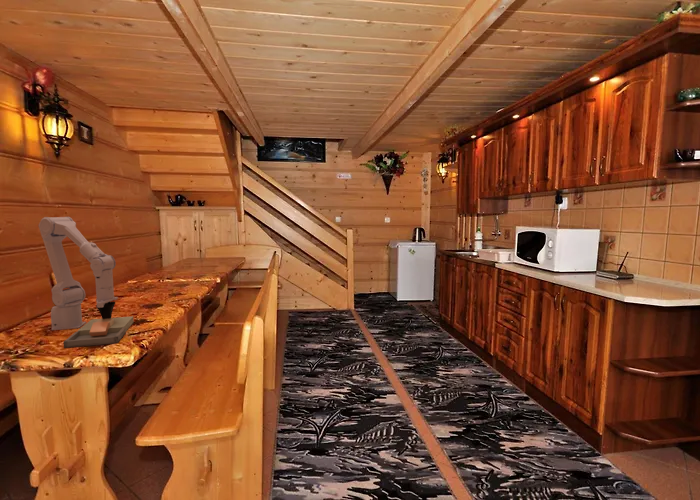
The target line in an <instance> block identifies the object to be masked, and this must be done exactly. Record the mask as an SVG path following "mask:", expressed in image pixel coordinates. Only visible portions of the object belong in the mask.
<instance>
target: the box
mask: <svg viewBox="0 0 700 500" xmlns="http://www.w3.org/2000/svg"><path fill="white" fill-rule="evenodd" d="M126 333H127V331H126V329H125V328H122V329H121V330H120V331H119V332H117V333H107V335H102V336H90V335H81V336H79V332H77V331H75V332H73V333H72V334H71V335H70V336H69V337H68V338H66V339H64V340H63V349H68V348H70V349H71V348H81V347H89V346H101V345H110V344H118V343H119V342H120V341H121V340H122V339H123V337H124V336H125V335H126Z"/></svg>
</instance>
